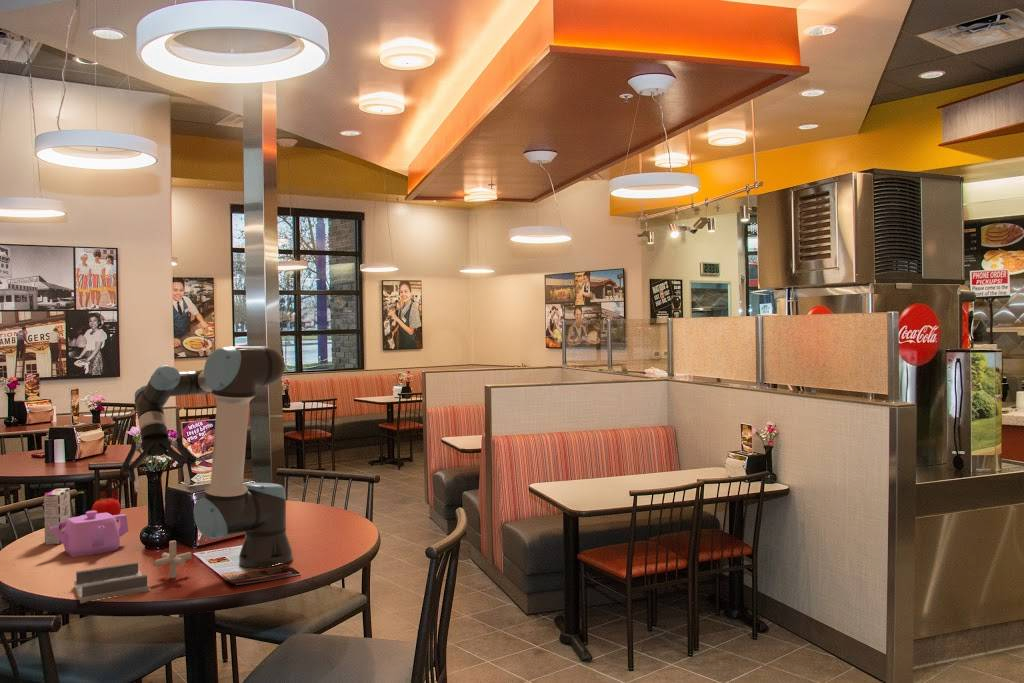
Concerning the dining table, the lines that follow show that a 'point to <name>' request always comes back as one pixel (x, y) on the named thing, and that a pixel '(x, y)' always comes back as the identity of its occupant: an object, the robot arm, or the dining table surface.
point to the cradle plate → (133, 591)
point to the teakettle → (92, 533)
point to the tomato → (107, 506)
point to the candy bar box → (56, 513)
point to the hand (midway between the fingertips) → (163, 486)
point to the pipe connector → (172, 559)
